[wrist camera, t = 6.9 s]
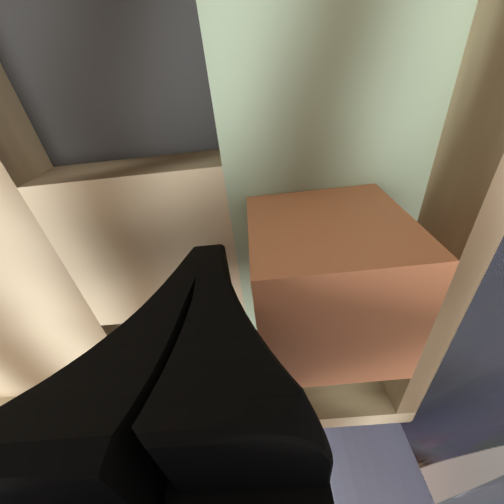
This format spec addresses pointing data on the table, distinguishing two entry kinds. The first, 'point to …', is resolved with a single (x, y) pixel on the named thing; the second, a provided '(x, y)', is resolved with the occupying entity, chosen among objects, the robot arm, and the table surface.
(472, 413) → the table surface
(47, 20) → the trap box
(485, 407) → the table surface
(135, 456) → the robot arm
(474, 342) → the table surface
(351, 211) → the block
